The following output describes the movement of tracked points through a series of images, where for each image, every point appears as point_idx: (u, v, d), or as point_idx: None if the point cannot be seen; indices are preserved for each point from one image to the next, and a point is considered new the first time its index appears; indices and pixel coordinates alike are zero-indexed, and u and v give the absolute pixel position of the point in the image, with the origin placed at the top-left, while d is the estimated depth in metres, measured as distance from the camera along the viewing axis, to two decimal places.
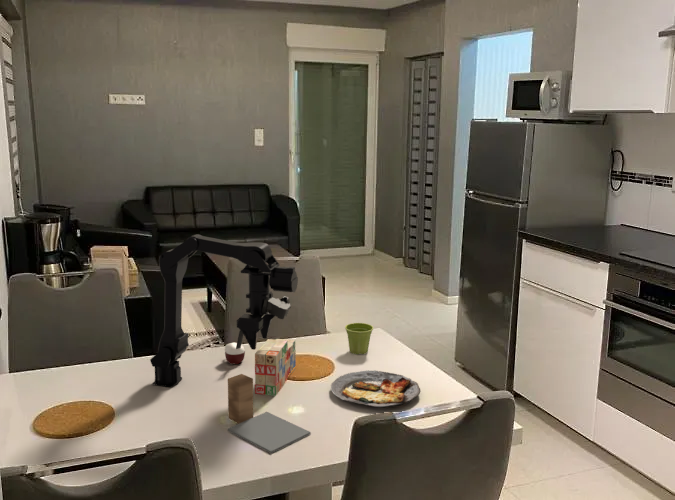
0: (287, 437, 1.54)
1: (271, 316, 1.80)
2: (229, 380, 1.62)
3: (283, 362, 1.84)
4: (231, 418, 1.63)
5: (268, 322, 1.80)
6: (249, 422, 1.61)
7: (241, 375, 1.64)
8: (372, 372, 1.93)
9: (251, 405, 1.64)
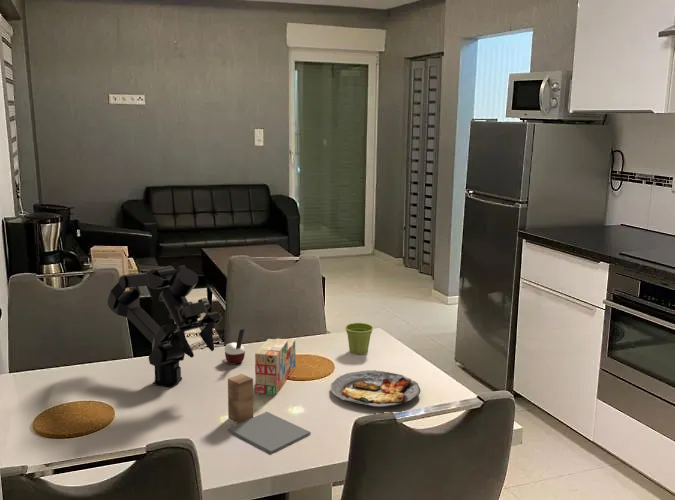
0: (287, 437, 1.54)
1: (206, 326, 1.76)
2: (229, 380, 1.62)
3: (283, 362, 1.84)
4: (231, 418, 1.63)
5: (207, 333, 1.75)
6: (249, 422, 1.61)
7: (241, 375, 1.64)
8: (372, 372, 1.93)
9: (251, 405, 1.64)
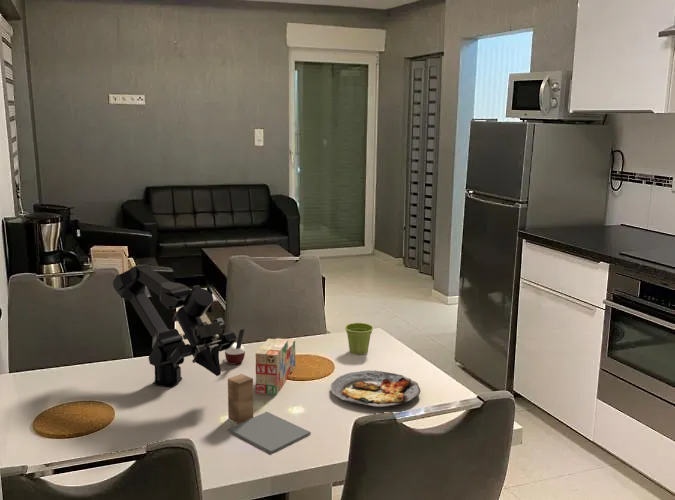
0: (287, 437, 1.54)
1: (212, 350, 1.70)
2: (229, 380, 1.62)
3: (283, 361, 1.84)
4: (231, 418, 1.63)
5: (213, 357, 1.70)
6: (249, 422, 1.61)
7: (241, 375, 1.64)
8: (372, 372, 1.93)
9: (251, 405, 1.64)
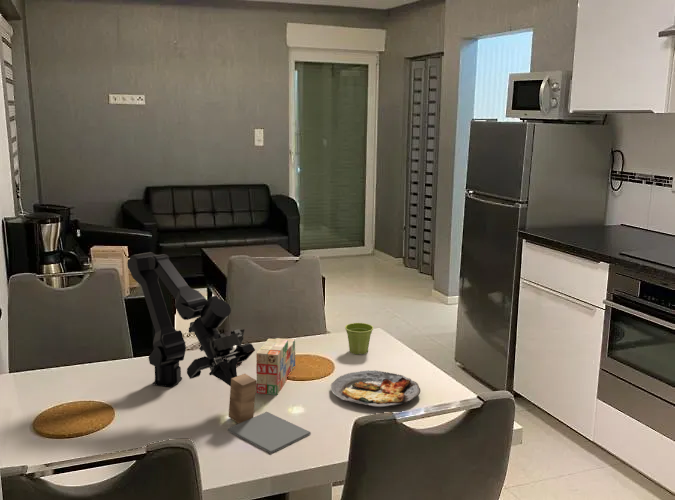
0: (287, 437, 1.54)
1: (230, 362, 1.65)
2: (232, 380, 1.61)
3: (284, 361, 1.85)
4: (231, 417, 1.63)
5: (231, 370, 1.65)
6: (249, 422, 1.61)
7: (244, 375, 1.63)
8: (372, 372, 1.93)
9: (252, 406, 1.63)
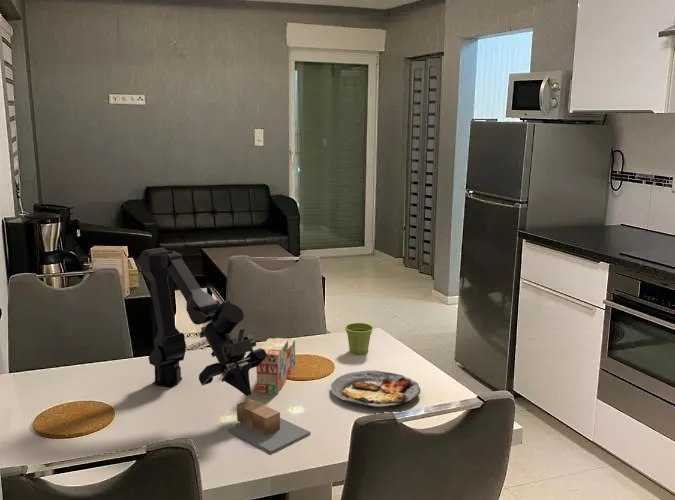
0: (287, 437, 1.54)
1: (242, 368, 1.62)
2: (265, 420, 1.54)
3: (284, 361, 1.85)
4: (238, 409, 1.61)
5: (243, 376, 1.62)
6: None
7: (277, 416, 1.57)
8: (372, 372, 1.93)
9: None
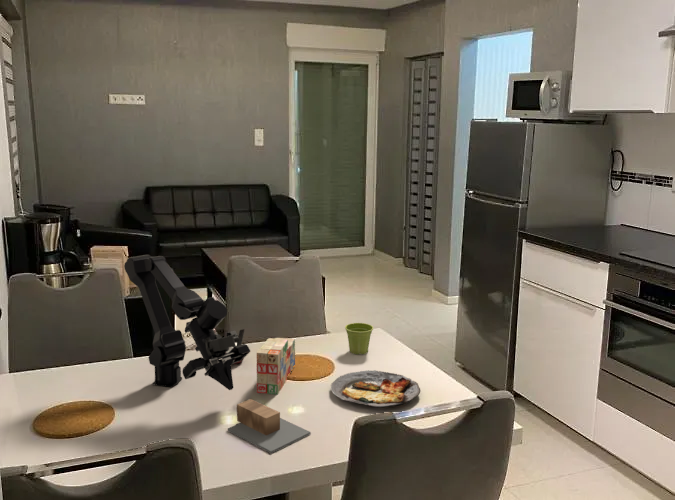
0: (287, 437, 1.54)
1: (225, 363, 1.67)
2: (265, 420, 1.54)
3: (284, 361, 1.85)
4: (238, 409, 1.61)
5: (226, 371, 1.67)
6: None
7: (277, 416, 1.57)
8: (372, 372, 1.93)
9: None
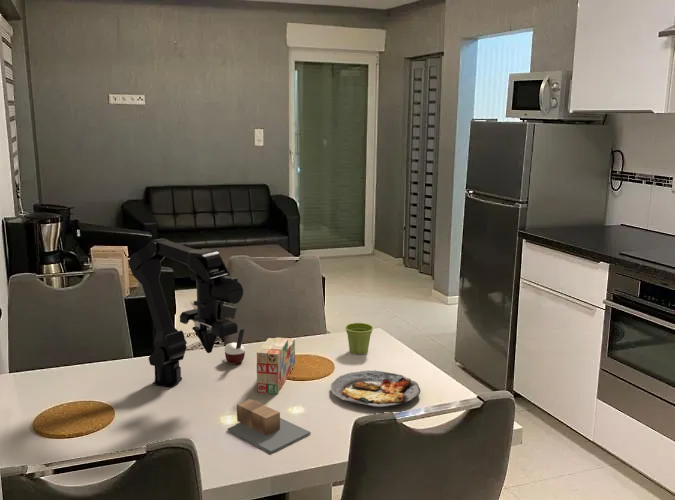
0: (287, 437, 1.54)
1: None
2: (265, 420, 1.54)
3: (284, 361, 1.85)
4: (238, 409, 1.61)
5: None
6: None
7: (277, 416, 1.57)
8: (372, 372, 1.93)
9: None
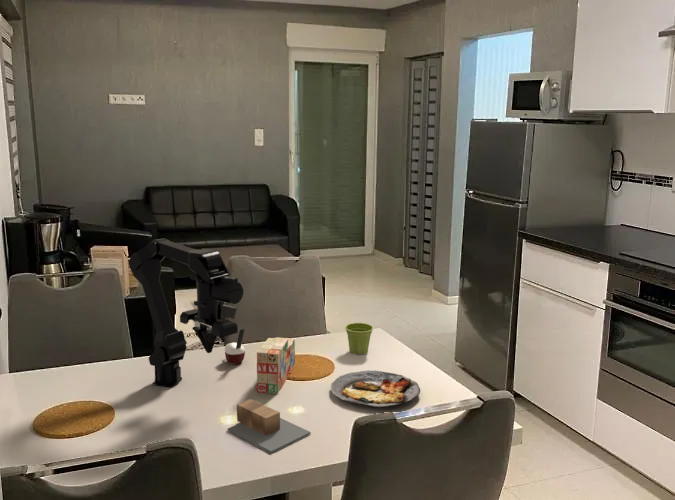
0: (287, 437, 1.54)
1: None
2: (265, 420, 1.54)
3: (284, 360, 1.85)
4: (238, 409, 1.61)
5: None
6: None
7: (277, 416, 1.57)
8: (372, 372, 1.93)
9: None
